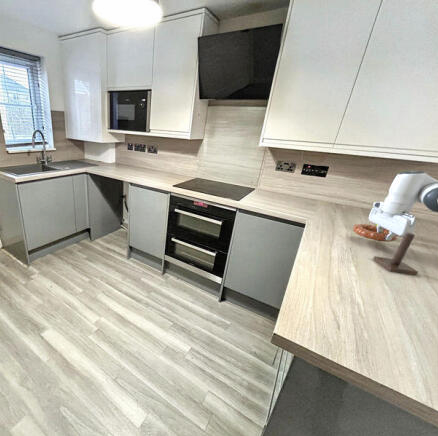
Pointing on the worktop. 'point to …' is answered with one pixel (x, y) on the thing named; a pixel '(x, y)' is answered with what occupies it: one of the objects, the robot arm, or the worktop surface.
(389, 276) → the worktop surface
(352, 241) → the worktop surface
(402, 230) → the robot arm
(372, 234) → the ring
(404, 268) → the stand
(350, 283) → the worktop surface
